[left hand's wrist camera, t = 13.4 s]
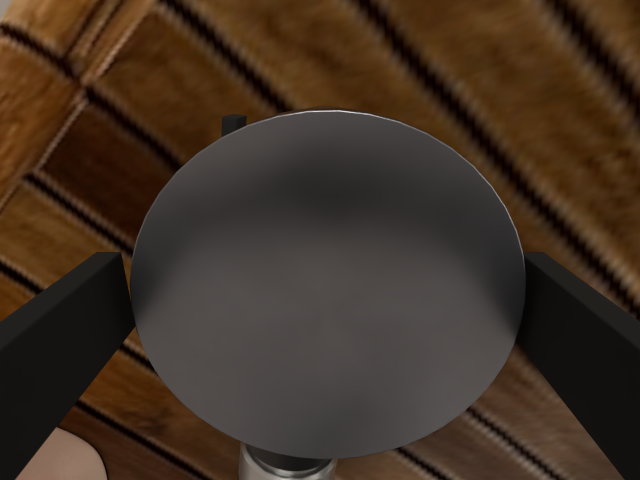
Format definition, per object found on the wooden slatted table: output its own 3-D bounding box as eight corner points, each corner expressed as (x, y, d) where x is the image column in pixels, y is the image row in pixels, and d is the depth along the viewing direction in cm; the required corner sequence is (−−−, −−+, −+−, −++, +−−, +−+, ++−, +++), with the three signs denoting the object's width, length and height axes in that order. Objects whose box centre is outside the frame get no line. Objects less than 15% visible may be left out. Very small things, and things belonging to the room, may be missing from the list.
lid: (77, 250, 12) (44, 271, 11) (382, 15, 10) (392, 1, 9) (290, 465, 16) (287, 504, 14) (559, 327, 13) (589, 357, 12)
